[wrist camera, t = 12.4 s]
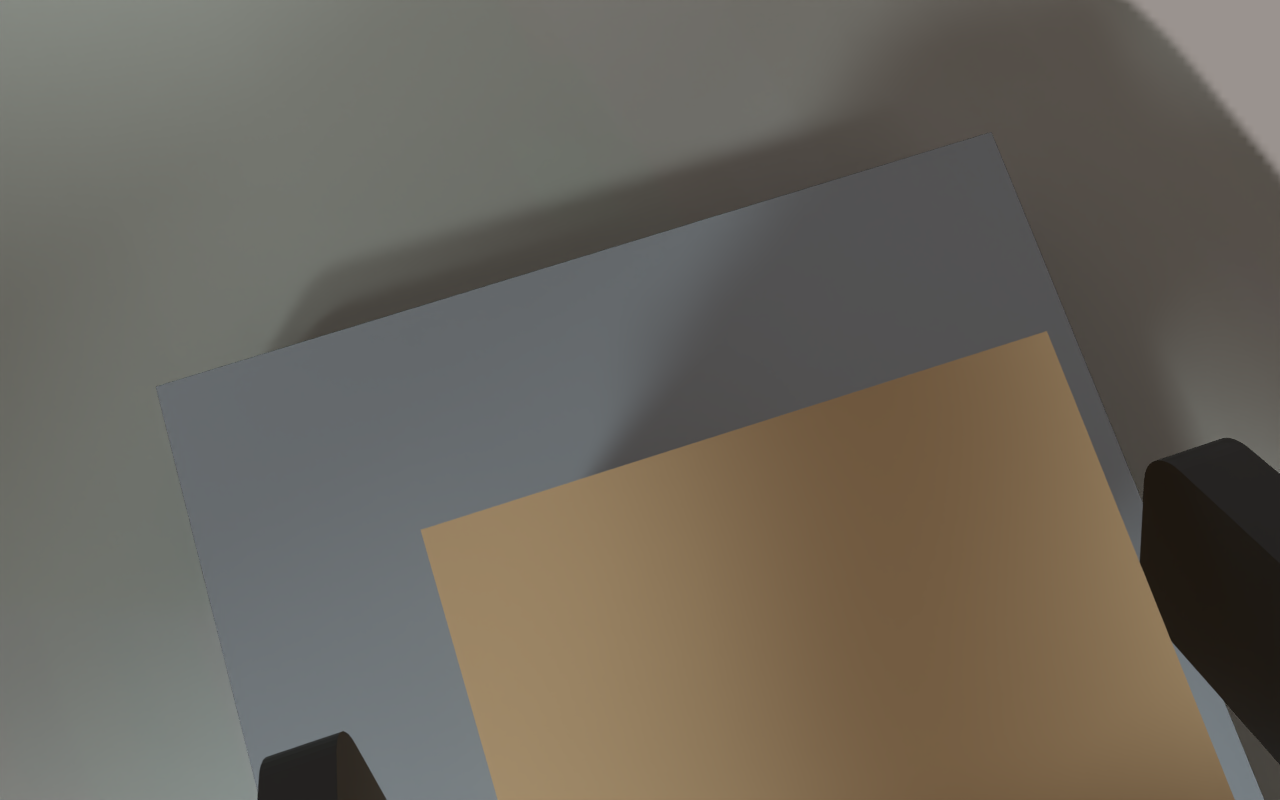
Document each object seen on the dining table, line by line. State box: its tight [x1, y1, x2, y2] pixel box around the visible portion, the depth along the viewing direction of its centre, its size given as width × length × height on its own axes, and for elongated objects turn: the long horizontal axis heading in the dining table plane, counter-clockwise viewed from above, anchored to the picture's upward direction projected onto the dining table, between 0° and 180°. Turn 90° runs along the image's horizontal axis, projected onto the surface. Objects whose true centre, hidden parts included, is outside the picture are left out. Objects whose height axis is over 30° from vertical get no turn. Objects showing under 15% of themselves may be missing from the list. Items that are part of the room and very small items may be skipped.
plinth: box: [156, 132, 1264, 800], centre depth 18 cm, size 14×14×3 cm
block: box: [421, 331, 1235, 800], centre depth 13 cm, size 5×5×9 cm
